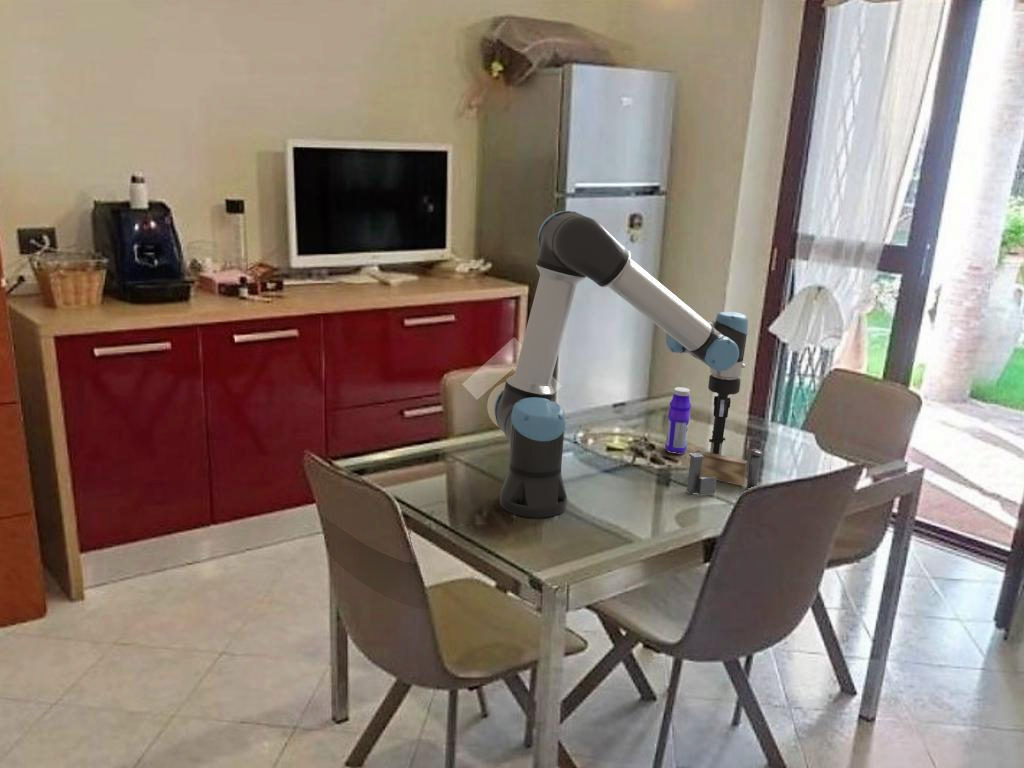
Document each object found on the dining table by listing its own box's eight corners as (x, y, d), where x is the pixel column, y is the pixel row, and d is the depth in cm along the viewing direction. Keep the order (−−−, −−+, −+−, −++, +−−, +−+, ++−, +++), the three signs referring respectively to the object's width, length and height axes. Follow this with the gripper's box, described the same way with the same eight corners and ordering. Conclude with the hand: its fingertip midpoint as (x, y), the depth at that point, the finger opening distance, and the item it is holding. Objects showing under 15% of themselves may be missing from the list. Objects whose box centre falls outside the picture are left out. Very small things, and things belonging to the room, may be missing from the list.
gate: (744, 482, 219) (747, 460, 217) (742, 486, 217) (745, 463, 215) (694, 471, 224) (697, 449, 223) (691, 474, 222) (694, 452, 221)
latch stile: (692, 497, 210) (697, 459, 207) (684, 490, 213) (689, 453, 211) (714, 495, 211) (719, 457, 209) (706, 489, 215) (711, 451, 212)
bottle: (685, 456, 236) (693, 393, 231) (664, 454, 237) (670, 391, 232) (686, 447, 243) (693, 386, 238) (665, 445, 244) (671, 384, 239)
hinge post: (749, 491, 215) (754, 454, 212) (742, 486, 218) (747, 449, 215) (760, 490, 216) (765, 453, 213) (753, 485, 219) (758, 448, 216)
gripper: (741, 384, 211) (729, 477, 217) (740, 370, 223) (729, 458, 230) (709, 380, 212) (697, 472, 219) (710, 367, 225) (699, 455, 231)
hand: (713, 465), depth 224 cm, fingers closed
